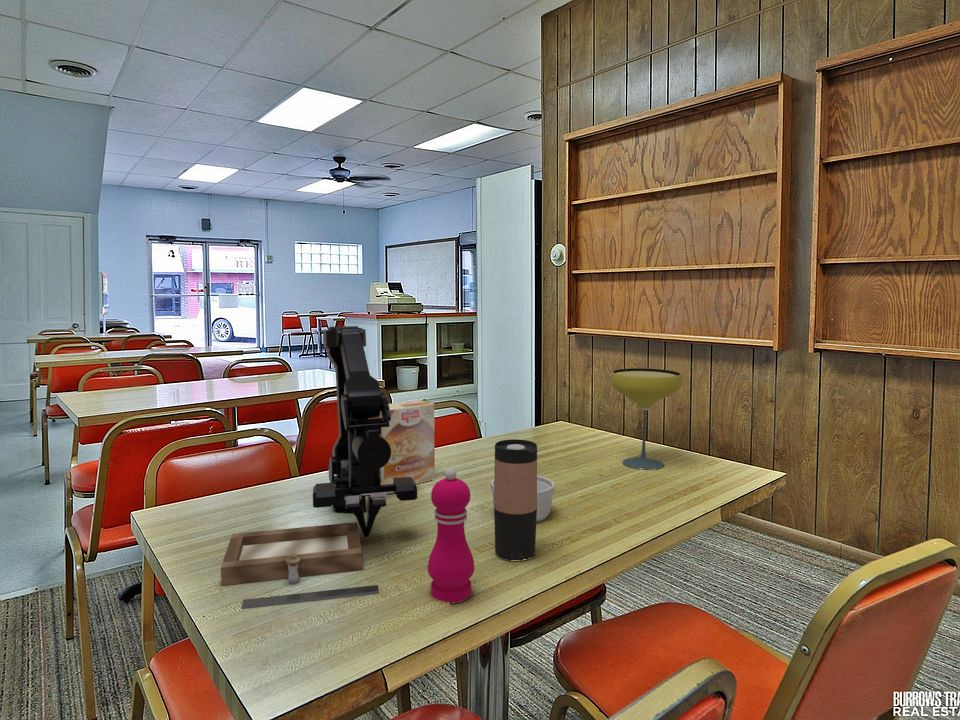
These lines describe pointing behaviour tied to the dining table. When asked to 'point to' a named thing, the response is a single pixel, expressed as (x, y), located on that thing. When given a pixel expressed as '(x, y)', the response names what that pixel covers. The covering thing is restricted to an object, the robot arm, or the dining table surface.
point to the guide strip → (309, 596)
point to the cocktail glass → (645, 398)
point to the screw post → (293, 573)
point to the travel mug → (515, 498)
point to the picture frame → (291, 553)
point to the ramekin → (540, 496)
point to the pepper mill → (450, 541)
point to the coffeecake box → (410, 442)
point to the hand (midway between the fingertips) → (366, 536)
